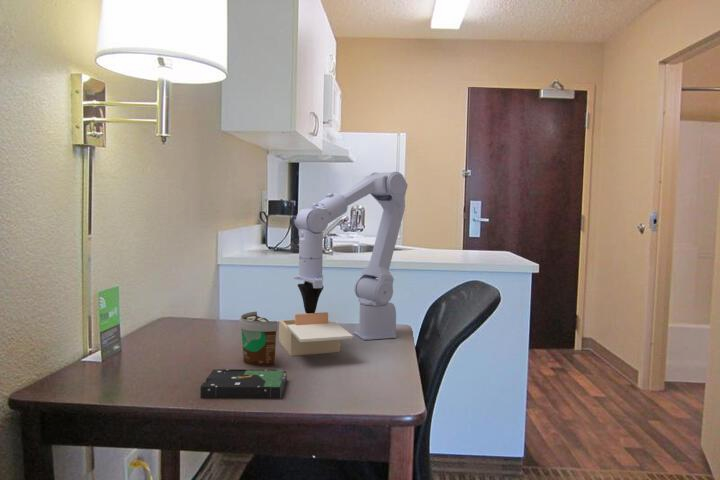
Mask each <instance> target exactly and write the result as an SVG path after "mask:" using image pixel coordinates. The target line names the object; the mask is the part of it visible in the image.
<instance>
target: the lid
mask: <svg viewBox="0 0 720 480" xmlns="http://www.w3.org/2000/svg"><path fill="white" fill-rule="evenodd" d="M294 319H295V324H292V325H287V328H288V329H289V330H290V331H291V332H292V334H293V335H294V336H295V337H296V338H297V339H298V340H299V341H300V342H310V341H324V340H338V339H340V340H347V339H348V340H349V339H354V335H353V334H352V333H350V332H349V331H347V330H346V329H345V328H343V327H342V325H339V324H338V323H336V322H335V321H329V312H315V313H306V312H305V313H295V314H294ZM328 321H329V322H328Z"/></svg>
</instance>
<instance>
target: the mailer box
mask: <svg viewBox="0 0 720 480" xmlns="http://www.w3.org/2000/svg"><path fill="white" fill-rule="evenodd" d="M328 322H330V321H329V320H328ZM292 324H295V318H293V319H279V320H278V342H279V343H280V344H281V345H282V347H283V348H284V349H285V350H286V352H287V353H288V354H289V355H290V356H292V357H293V356H304V355H305V356H306V355H307V356H308V355H320V354H329V353H330V354H331V353H340V352H341V339H338V340H324V341H310V342H300V341H299V340H298V339H297V338H296V337H295V336H294V335H293V334H292V332H291V331H290V330H289V329H288V328H287V325H292Z"/></svg>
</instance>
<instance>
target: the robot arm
mask: <svg viewBox="0 0 720 480" xmlns="http://www.w3.org/2000/svg"><path fill="white" fill-rule="evenodd" d="M408 185H409V184H408V183H407V181H406V179H405V176H404V175H403V174H402V173H401V172H399V171H392V172H372V173H370V174H369V175H366V176H364V177H363V178H362V179H361V180H360V181H358V182H357V183H355V184H354V185H352V186H351V187H350V188H348V189H347V190H345V191H344V192H342V193H341V194H340V193H337V192H334V193H333V192H329V193H326V195H325V197H324V198H323V199H322V200H320V201H319V202H313V203H311V207H310V208H309V207H308V208H302V209H301V210H299V211H298V213H297V214H296V217H295V219H294V220H293V221H294V225H295V228H297V231H298V237H299V238H298V247H299V248H298V251H299V252H298V275H293V279H294V280H299V281H303V283H298V284H297V287H298V290H299V292H300V293H301V298H302V303H303V309H304V312H305V314H306V313H316V311H317V306H318V303H319V298H320V296H321V293H322V291H323V290H324V285H323V280H324V275H323V259H324V258H323V253H324V251H323V250H324V249H323V247H324V244H323V243H324V232H325V231H326V229H327V228H328V225H329V224H330V223H332V222H333V221H335V220H336V219H338V218H340V217H341V216H343V215H345V214H346V213H347V211H348V207H349V206H350V205H352V204H354V203H356V202H357V201H359V200H361V199H363V198H364V197H367V196H369V195H371V196H372V197H373V198H374V200H376V201H377V203H378V204H379V205H380V206H381V208H382V209H383V211H382V215H381V219H380V222H379V227H378V230H377V233H376V238H375V241H374V244H373V248H372V252H371V256H370V260H369V264H368V265H367V266H366V267H365V268H364V269H362V270H361V272H360V274H359V275H360V276H359V278H358V279H357V280H356V282H355V284H354V289H353V291H354V294H355V296H356V297H357V298H358V302H359V319H358V321H359V324H358V325H359V326H358V329H359V330H355V331H353V333H354V334H355V335H356V336H358V337H359V338H361V339H362V340H364V341H370V340H382V339H394V338H395V339H396V338H397V333H396V332H397V311H396V310H397V309H396V306H395V305H394V304H395V303H392V302H390V301H391V300H392V298H393V295H394V287H393V286H394V285H393V284H394V280H395V279H394V276H393V275H392V274H391V272H390V267H391V263H392V259H393V256H394V251H395V247H396V245H397V240H398V236H399V232H400V229H401V225H402V221H403V217H404V213H405V211H406V210H405V209H406V200H405V199H406V198H405V197H406V193H407V189H408Z"/></svg>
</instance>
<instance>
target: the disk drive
mask: <svg viewBox="0 0 720 480" xmlns="http://www.w3.org/2000/svg"><path fill="white" fill-rule="evenodd" d="M287 381H288V373H287V370H284V369H238V368H237V369H230V368H229V369H226V368H224V369H223V368H221V369H219V368H218V369H215V368H214V369H212V370H211V372H210V374H209V375H207V377H206V378H205V382H202V383H201V385H200V387H199V390H200V391H199V392H200V393H199V394H200V395H199V397H200V399H271V400H273V399H282V397H283V394H284V390H285V387H286V384H287Z"/></svg>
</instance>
